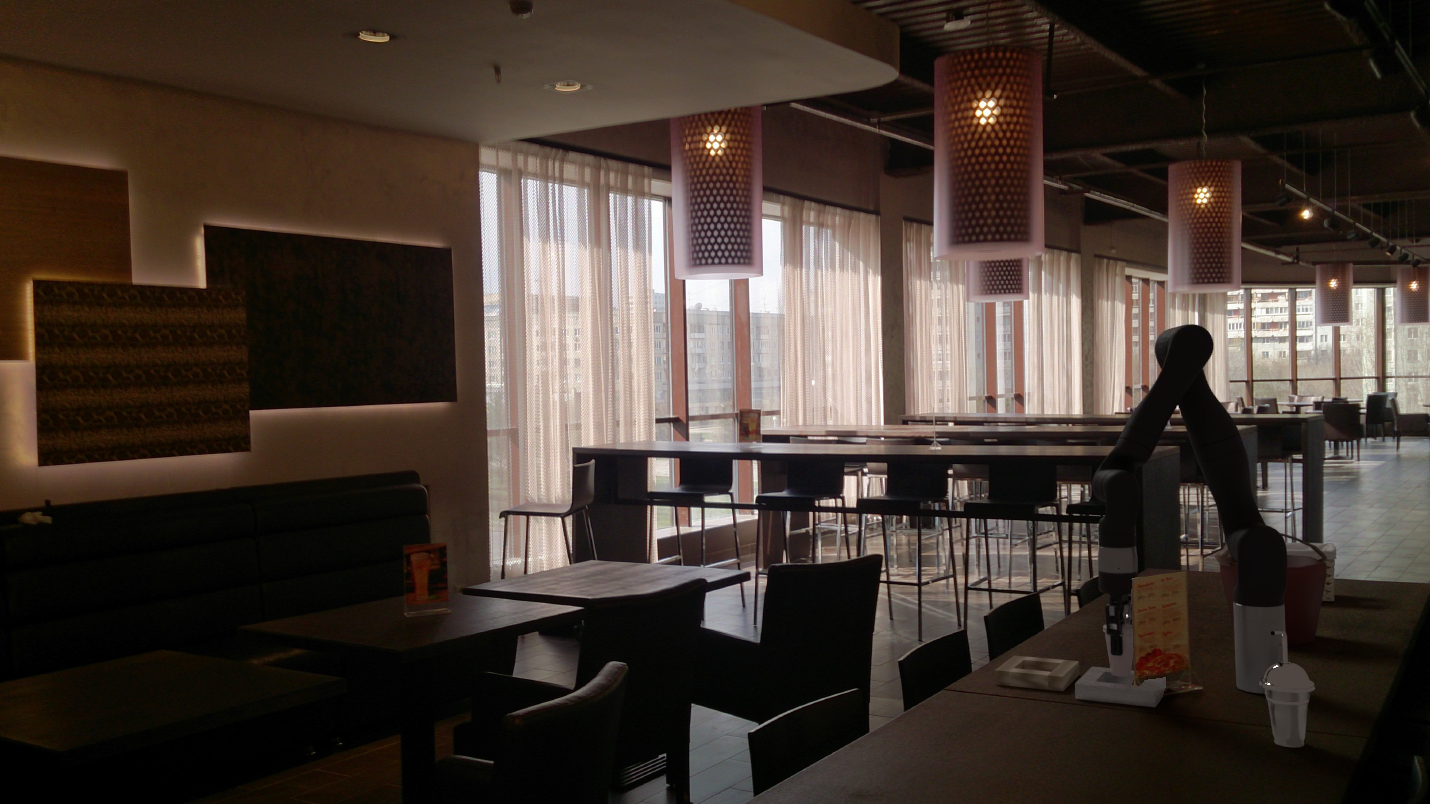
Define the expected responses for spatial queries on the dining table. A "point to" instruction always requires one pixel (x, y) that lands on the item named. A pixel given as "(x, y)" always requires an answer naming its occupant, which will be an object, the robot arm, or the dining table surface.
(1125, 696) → the ring
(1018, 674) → the socket block
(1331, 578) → the storage basket
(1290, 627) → the bucket
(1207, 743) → the dining table surface
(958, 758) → the dining table surface
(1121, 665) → the smoothie
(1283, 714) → the cup with straw
